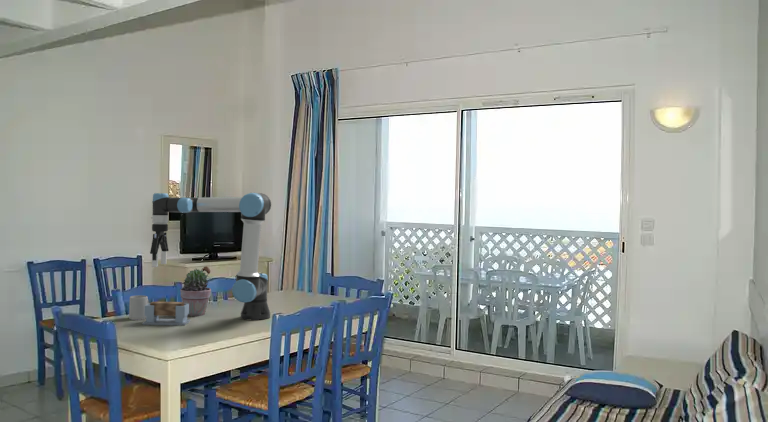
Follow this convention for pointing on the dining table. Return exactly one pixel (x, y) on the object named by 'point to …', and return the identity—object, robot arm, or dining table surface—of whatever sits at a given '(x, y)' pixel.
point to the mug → (137, 307)
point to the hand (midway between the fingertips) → (159, 265)
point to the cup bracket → (180, 319)
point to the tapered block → (165, 308)
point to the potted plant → (196, 291)
